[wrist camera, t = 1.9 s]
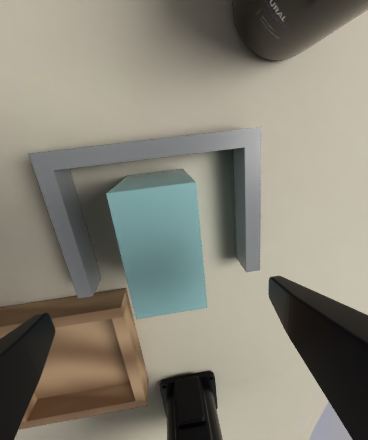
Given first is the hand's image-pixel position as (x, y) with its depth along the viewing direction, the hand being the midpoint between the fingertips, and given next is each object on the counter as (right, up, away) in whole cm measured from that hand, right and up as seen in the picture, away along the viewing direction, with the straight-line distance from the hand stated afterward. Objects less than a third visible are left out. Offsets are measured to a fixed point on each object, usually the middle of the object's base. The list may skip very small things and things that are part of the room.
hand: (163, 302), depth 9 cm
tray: (-11, -10, +14) cm, 20 cm away
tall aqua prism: (-1, +4, +10) cm, 11 cm away
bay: (-1, +3, +10) cm, 10 cm away
